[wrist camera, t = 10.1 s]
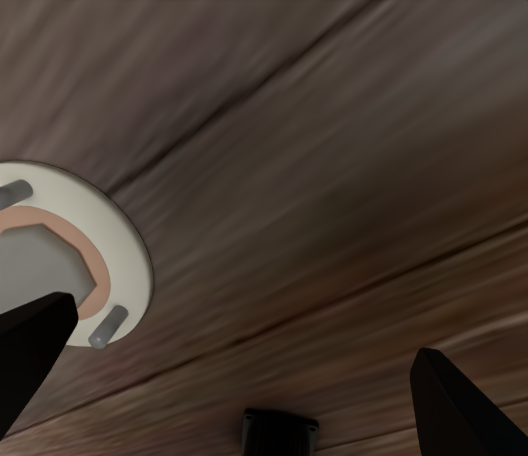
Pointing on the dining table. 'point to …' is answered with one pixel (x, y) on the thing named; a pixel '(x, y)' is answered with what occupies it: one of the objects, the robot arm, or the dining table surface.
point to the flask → (39, 267)
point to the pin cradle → (84, 244)
